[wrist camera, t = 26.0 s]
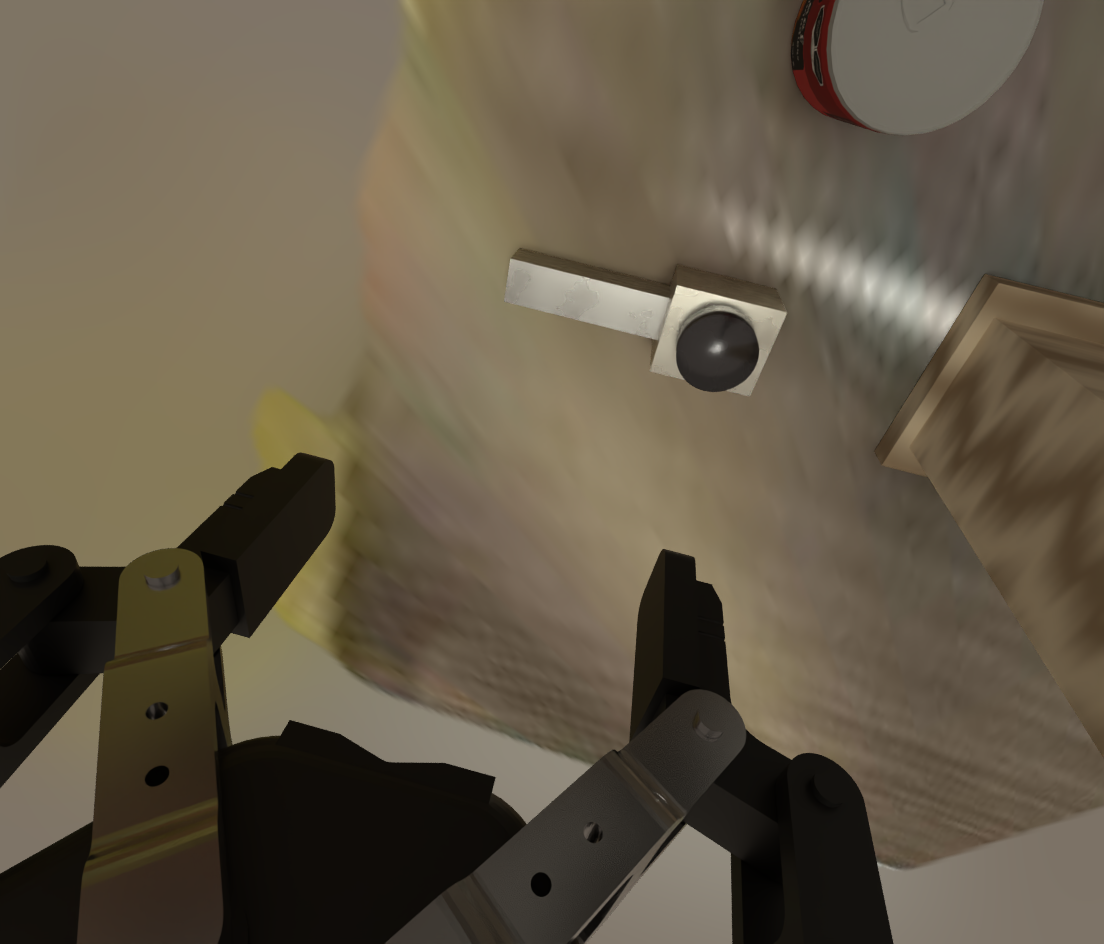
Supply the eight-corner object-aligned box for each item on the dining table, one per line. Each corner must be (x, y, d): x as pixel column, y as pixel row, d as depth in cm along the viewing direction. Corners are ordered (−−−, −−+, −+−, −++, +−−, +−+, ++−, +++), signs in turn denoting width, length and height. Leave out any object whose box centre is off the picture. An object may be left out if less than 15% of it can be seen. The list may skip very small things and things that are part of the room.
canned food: (879, -100, 29) (969, -175, 20) (974, 24, 31) (1095, 5, 22) (757, 48, 33) (787, 40, 24) (848, 150, 35) (906, 177, 26)
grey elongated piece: (523, 225, 41) (499, 250, 35) (775, 288, 41) (792, 323, 35) (510, 307, 45) (486, 342, 39) (743, 366, 44) (753, 410, 38)
